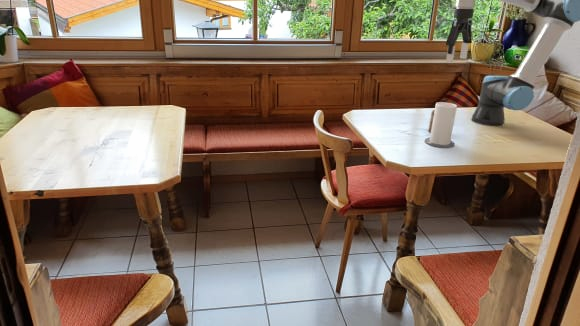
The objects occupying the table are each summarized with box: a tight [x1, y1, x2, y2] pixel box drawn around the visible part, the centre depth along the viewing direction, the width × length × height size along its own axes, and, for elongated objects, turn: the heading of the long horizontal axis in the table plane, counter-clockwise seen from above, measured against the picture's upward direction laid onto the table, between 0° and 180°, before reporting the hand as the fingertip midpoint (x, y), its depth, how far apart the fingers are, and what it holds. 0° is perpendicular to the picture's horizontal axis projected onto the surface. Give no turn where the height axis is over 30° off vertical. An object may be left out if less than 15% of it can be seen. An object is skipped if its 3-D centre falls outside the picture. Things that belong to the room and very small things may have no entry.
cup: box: [429, 101, 458, 145], centre depth 178 cm, size 8×8×16 cm
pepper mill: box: [428, 109, 435, 134], centre depth 194 cm, size 4×4×10 cm
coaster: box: [424, 136, 456, 149], centre depth 181 cm, size 12×12×1 cm
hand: (456, 60), depth 186 cm, fingers open, 13 cm apart
